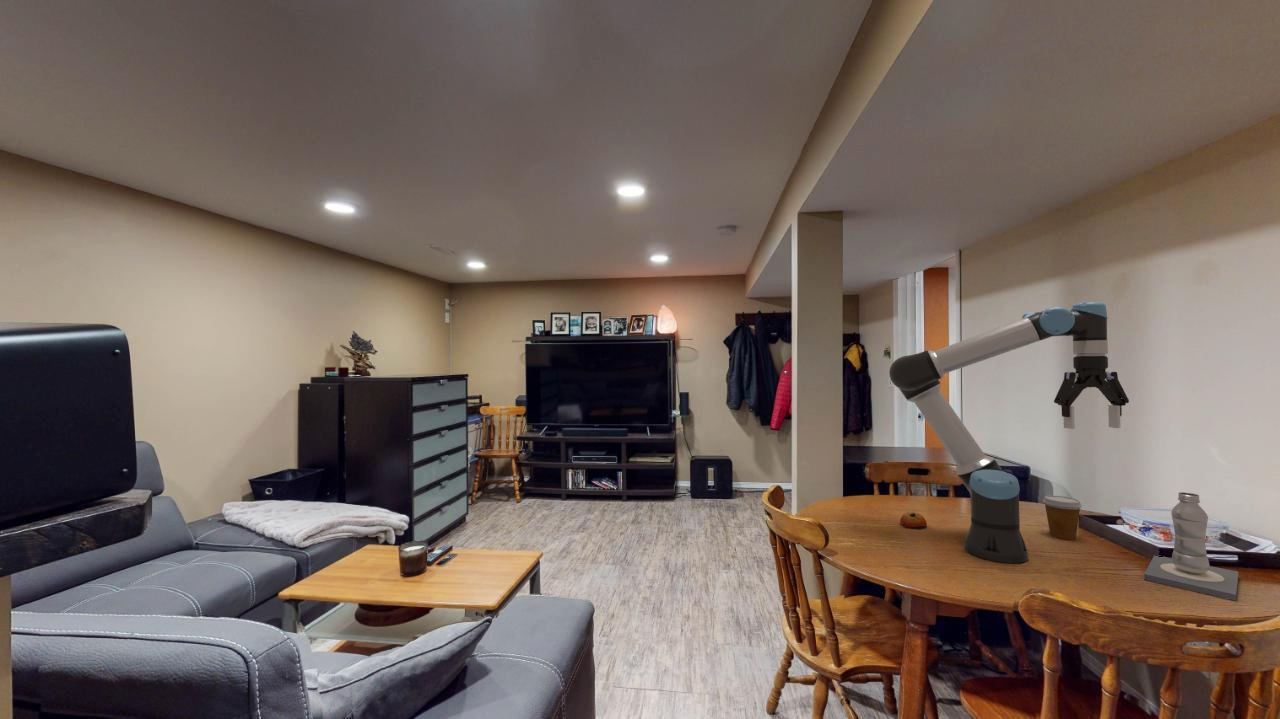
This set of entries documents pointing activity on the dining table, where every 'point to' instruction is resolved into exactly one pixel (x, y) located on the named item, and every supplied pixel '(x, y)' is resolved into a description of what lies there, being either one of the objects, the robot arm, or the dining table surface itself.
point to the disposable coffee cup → (1062, 516)
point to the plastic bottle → (1190, 535)
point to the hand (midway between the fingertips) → (1091, 428)
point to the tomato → (913, 520)
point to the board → (1193, 578)
